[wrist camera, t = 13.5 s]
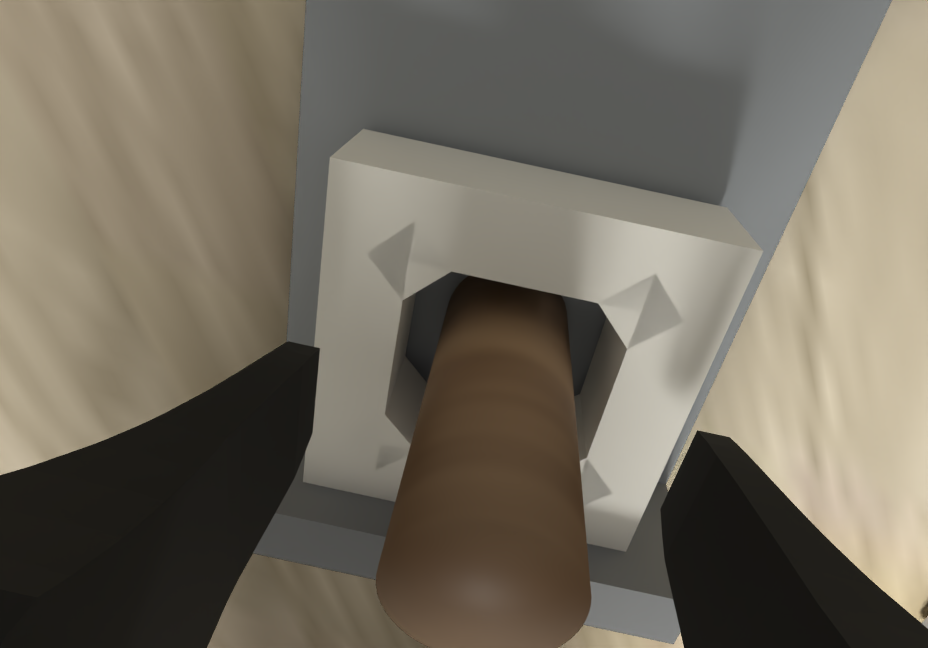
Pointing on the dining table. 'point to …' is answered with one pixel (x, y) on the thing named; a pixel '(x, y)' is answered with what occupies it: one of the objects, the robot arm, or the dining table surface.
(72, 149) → the dining table surface
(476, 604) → the dowel
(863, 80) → the dining table surface
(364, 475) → the holed block
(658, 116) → the base board
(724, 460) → the robot arm
